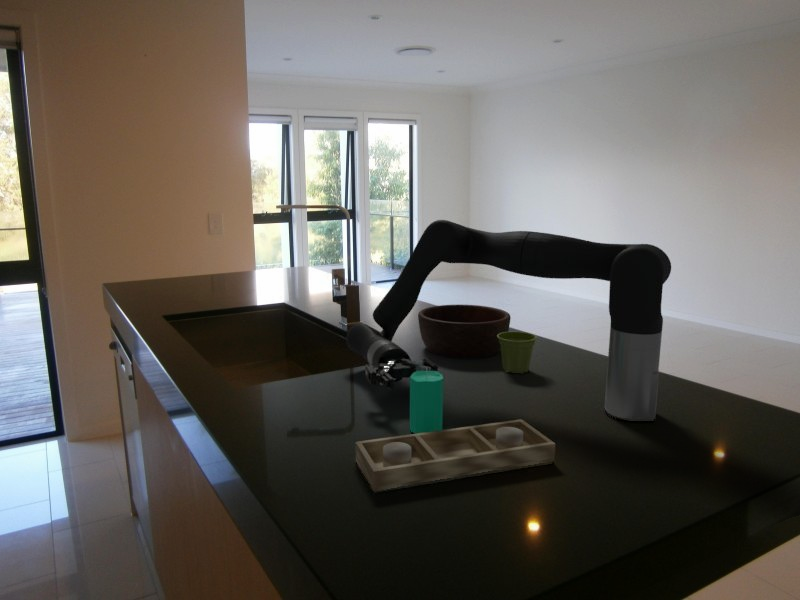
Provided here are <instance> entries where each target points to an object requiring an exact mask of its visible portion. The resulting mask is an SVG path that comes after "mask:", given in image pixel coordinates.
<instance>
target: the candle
mask: <svg viewBox="0 0 800 600" xmlns="http://www.w3.org/2000/svg"><path fill="white" fill-rule="evenodd" d="M443 414H444V376H443V374H442V373H440V372H439V371H438V372H437V371H427V368H426V371H423V370H422V371H418V372H414V373H413V374H412V375H411V377H410V379H409V431H410V430H411V432H414V433H415V434H417V433H424V432H432V431H439V430H443V421H444V420H443V419H444V418H443V416H444V415H443ZM411 432H410V433H411Z"/></svg>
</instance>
